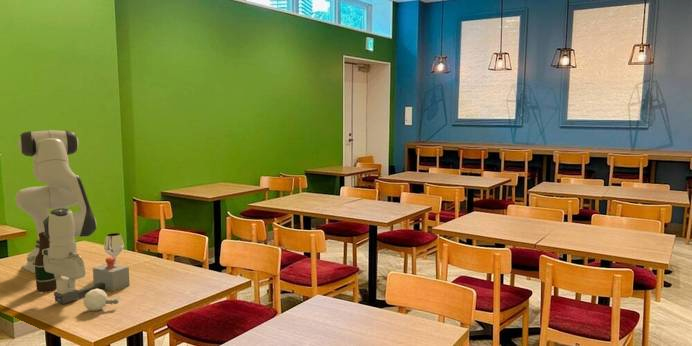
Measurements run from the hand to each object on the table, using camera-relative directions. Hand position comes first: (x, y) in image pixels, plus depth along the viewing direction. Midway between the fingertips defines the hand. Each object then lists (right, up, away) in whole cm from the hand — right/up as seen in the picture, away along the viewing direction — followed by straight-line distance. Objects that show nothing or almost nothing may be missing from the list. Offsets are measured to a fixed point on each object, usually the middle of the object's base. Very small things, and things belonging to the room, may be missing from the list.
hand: (65, 286), depth 193 cm
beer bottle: (-15, -5, +14) cm, 22 cm away
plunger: (+9, -1, +18) cm, 20 cm away
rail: (+3, -5, +6) cm, 9 cm away
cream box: (0, -6, +1) cm, 6 cm away
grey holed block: (+9, -4, +18) cm, 21 cm away
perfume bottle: (+17, -7, -7) cm, 20 cm away
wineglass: (+3, -2, +35) cm, 35 cm away
